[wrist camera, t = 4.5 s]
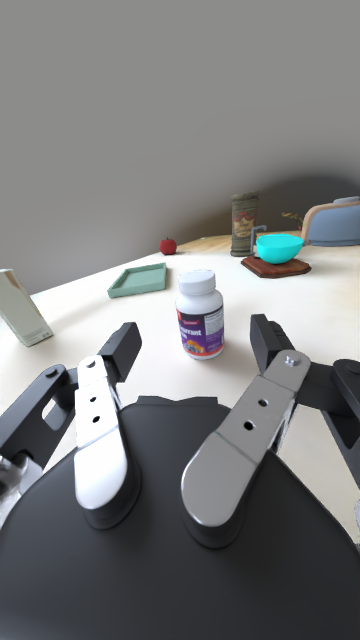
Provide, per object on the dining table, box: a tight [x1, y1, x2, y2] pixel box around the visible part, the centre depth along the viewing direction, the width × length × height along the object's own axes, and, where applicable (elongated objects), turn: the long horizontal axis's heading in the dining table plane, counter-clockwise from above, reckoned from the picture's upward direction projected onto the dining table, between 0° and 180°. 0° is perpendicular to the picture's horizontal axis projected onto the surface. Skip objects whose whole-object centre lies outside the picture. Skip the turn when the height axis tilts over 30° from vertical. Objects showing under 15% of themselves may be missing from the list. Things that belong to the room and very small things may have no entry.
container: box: [230, 191, 260, 257], centre depth 60 cm, size 9×9×18 cm
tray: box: [108, 263, 167, 298], centre depth 54 cm, size 21×14×2 cm
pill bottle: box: [176, 270, 224, 360], centre depth 22 cm, size 5×5×10 cm
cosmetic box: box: [0, 269, 53, 347], centre depth 31 cm, size 6×4×12 cm
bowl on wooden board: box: [241, 213, 311, 278], centre depth 44 cm, size 14×18×15 cm
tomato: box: [159, 238, 177, 255], centre depth 85 cm, size 8×8×7 cm
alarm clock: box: [301, 197, 360, 246], centre depth 58 cm, size 19×20×12 cm
